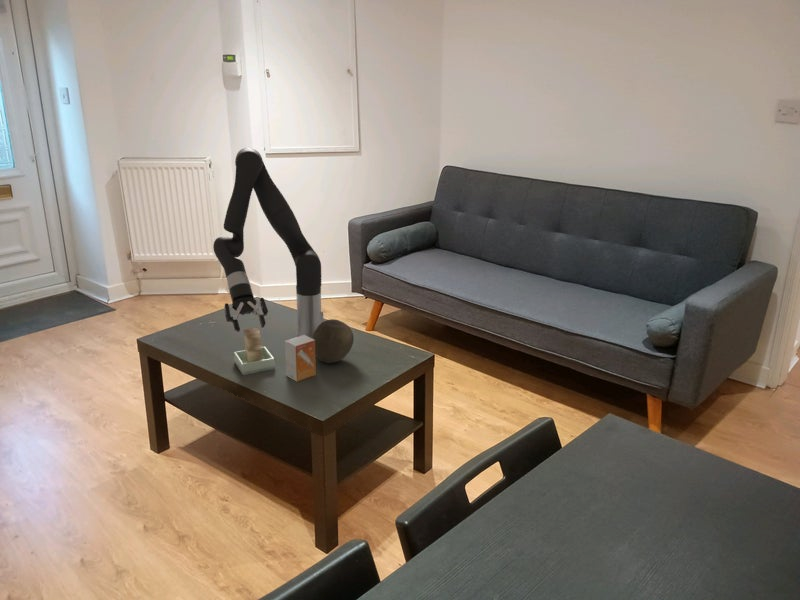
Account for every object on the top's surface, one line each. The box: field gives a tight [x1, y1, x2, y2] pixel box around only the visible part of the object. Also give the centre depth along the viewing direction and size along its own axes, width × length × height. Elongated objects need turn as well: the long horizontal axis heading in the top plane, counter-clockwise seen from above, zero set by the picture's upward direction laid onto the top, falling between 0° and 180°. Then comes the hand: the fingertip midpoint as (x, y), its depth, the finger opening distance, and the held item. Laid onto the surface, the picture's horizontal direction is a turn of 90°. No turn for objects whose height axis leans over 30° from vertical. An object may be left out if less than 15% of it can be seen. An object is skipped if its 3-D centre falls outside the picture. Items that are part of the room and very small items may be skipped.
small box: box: [284, 335, 317, 383], centre depth 224 cm, size 8×6×13 cm
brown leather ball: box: [312, 319, 355, 364], centre depth 234 cm, size 14×14×15 cm
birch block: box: [243, 327, 262, 363], centre depth 230 cm, size 4×4×12 cm
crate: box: [233, 346, 276, 376], centre depth 231 cm, size 11×11×4 cm
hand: (251, 328), depth 229 cm, fingers open, 8 cm apart
